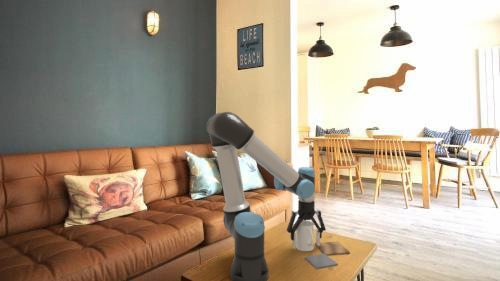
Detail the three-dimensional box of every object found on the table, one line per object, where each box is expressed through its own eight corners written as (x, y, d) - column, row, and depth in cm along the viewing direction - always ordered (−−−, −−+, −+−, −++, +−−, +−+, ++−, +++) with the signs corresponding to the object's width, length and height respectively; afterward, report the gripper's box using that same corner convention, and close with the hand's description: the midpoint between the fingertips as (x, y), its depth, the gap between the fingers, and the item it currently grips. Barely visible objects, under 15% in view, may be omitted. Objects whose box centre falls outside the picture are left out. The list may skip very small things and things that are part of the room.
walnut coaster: (324, 255, 128) (324, 253, 128) (314, 244, 140) (314, 243, 140) (349, 253, 130) (349, 252, 130) (337, 243, 142) (337, 241, 142)
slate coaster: (316, 269, 117) (316, 267, 117) (304, 258, 126) (304, 256, 126) (337, 265, 120) (337, 263, 120) (324, 254, 129) (324, 253, 129)
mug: (319, 253, 131) (320, 228, 130) (302, 255, 129) (302, 229, 128) (309, 243, 142) (309, 219, 141) (293, 244, 140) (293, 220, 140)
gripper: (284, 203, 129) (284, 250, 130) (333, 201, 132) (332, 247, 133) (280, 199, 136) (280, 244, 137) (326, 197, 140) (326, 240, 141)
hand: (306, 245), depth 135 cm, fingers open, 11 cm apart
